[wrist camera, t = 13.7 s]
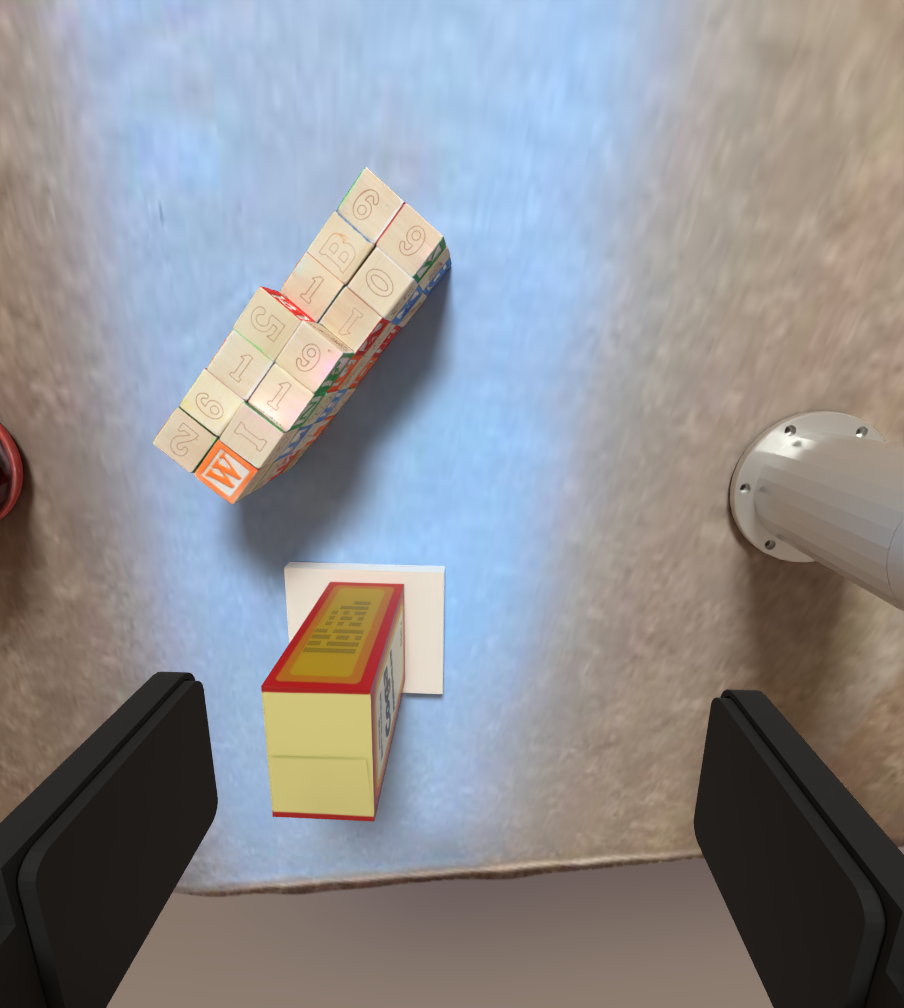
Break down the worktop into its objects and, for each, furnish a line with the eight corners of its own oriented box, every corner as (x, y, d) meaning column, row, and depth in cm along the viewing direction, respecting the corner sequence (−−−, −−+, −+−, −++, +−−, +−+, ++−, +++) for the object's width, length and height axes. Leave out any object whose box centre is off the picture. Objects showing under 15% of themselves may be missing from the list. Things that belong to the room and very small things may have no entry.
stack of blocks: (390, 207, 40) (355, 143, 29) (453, 264, 41) (445, 225, 29) (233, 422, 45) (147, 444, 33) (292, 470, 46) (229, 507, 34)
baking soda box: (330, 581, 47) (258, 690, 31) (404, 584, 46) (369, 694, 31) (334, 677, 49) (270, 821, 34) (405, 679, 49) (373, 826, 33)
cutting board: (445, 566, 48) (444, 572, 46) (443, 684, 51) (442, 694, 49) (289, 561, 48) (283, 567, 47) (297, 679, 51) (292, 688, 50)
